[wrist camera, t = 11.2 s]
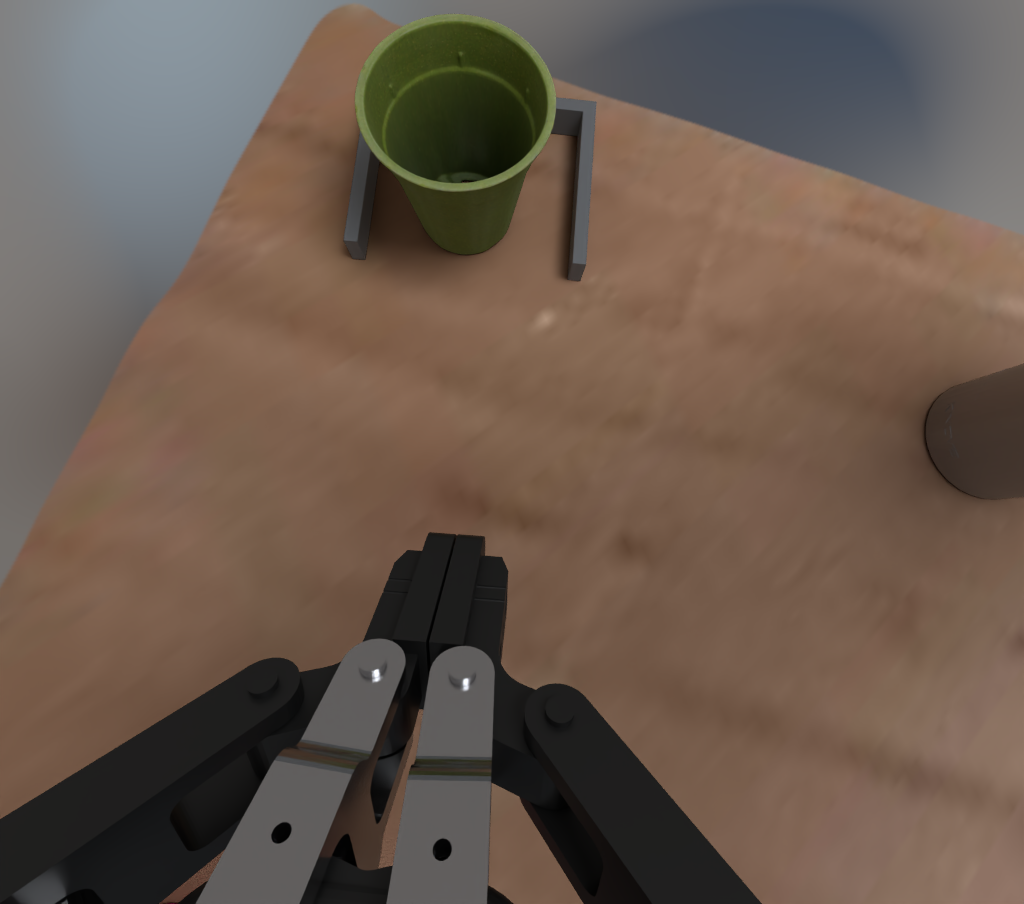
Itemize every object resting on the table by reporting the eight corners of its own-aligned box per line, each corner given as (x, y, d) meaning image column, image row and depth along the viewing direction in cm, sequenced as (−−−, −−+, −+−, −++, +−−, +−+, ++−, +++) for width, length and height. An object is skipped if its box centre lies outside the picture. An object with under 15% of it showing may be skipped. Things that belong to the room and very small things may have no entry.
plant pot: (372, 174, 41) (329, 41, 30) (510, 135, 43) (516, -7, 31) (417, 304, 40) (389, 213, 29) (560, 259, 41) (585, 155, 30)
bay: (590, 126, 43) (596, 101, 40) (580, 281, 41) (586, 264, 38) (375, 104, 42) (368, 77, 40) (352, 258, 40) (343, 240, 38)
